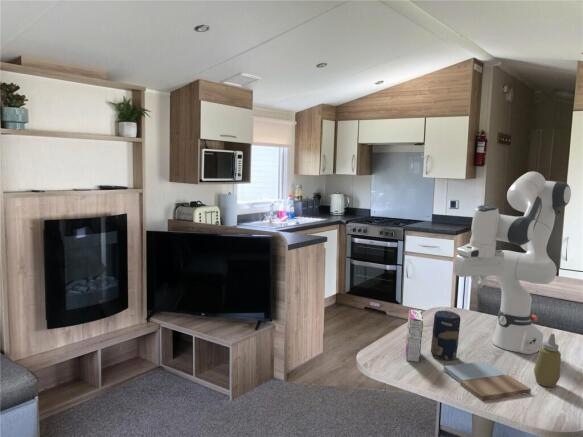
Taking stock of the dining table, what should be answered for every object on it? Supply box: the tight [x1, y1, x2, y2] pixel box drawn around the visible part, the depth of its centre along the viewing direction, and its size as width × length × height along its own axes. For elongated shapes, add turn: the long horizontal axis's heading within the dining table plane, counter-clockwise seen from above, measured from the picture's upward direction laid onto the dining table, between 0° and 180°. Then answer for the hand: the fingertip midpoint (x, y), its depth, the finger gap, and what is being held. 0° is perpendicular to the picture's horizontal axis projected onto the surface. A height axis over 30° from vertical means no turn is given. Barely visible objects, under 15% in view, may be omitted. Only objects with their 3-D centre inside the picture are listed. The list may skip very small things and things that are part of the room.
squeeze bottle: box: [533, 333, 562, 388], centre depth 162 cm, size 8×8×18 cm
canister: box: [430, 310, 462, 361], centre depth 180 cm, size 10×10×18 cm
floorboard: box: [460, 374, 532, 401], centre depth 157 cm, size 20×10×2 cm, turn 110°
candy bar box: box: [405, 309, 424, 363], centre depth 179 cm, size 11×5×16 cm, turn 168°
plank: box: [443, 360, 506, 384], centre depth 167 cm, size 18×10×2 cm, turn 110°
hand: (477, 287), depth 173 cm, fingers closed
